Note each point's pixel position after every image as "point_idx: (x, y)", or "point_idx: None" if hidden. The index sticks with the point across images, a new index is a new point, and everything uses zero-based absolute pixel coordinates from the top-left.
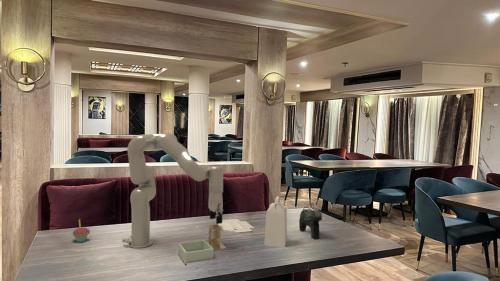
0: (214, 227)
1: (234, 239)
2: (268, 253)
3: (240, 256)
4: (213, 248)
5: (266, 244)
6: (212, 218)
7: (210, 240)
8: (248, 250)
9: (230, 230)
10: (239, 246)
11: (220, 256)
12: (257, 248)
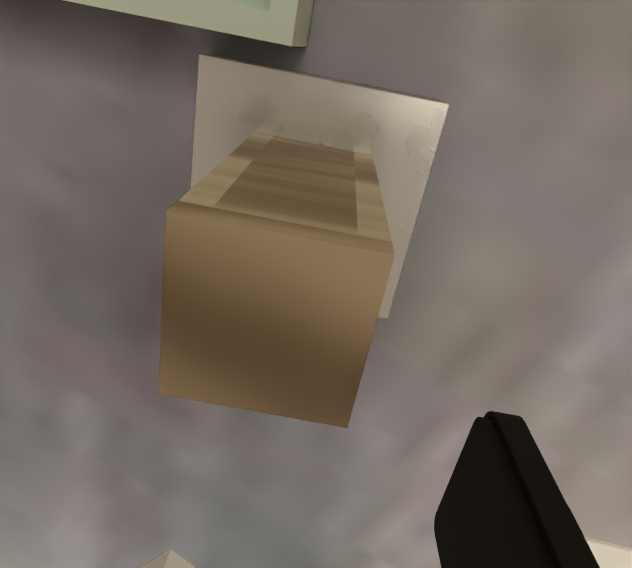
0: (174, 275)
1: (411, 469)
2: (3, 484)
3: (8, 293)
4: (232, 147)
5: (157, 563)
6: (461, 462)
7: (288, 158)
8: (115, 416)
9: (621, 555)
10: (234, 412)
11: (70, 129)
12: (127, 485)
